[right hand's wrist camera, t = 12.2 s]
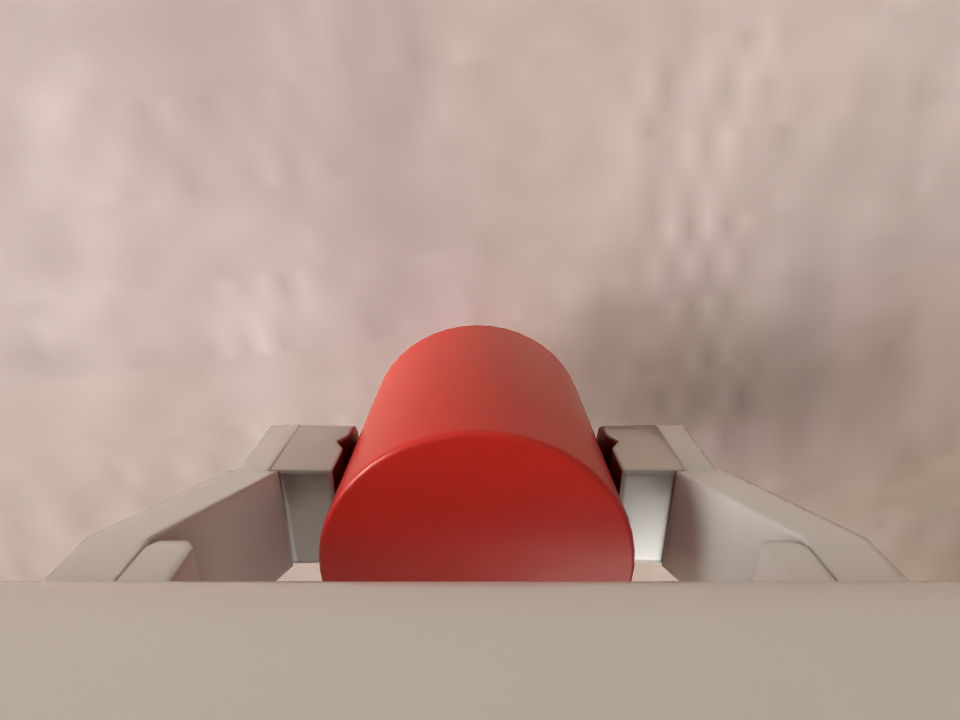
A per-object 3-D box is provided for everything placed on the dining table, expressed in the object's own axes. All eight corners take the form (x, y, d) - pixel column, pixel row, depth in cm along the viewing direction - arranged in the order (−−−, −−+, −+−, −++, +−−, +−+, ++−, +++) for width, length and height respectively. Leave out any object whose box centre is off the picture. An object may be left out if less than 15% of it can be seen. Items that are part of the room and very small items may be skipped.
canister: (358, 484, 12) (298, 654, 8) (396, 301, 11) (344, 396, 7) (545, 523, 13) (578, 705, 9) (609, 352, 11) (685, 474, 7)
